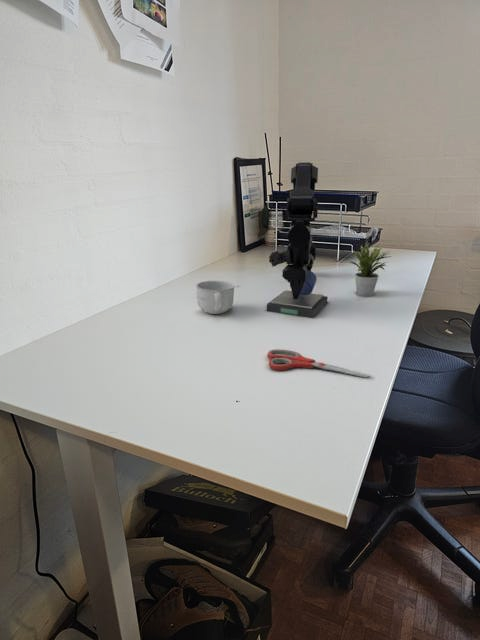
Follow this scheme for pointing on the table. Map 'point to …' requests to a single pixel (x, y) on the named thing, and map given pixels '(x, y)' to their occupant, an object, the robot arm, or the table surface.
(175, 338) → the table surface
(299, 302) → the scale pan
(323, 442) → the table surface
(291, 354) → the scissors
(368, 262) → the house plant
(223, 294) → the teacup
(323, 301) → the scale
